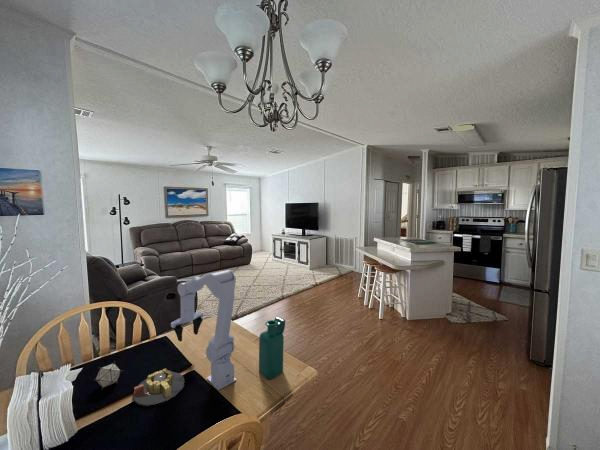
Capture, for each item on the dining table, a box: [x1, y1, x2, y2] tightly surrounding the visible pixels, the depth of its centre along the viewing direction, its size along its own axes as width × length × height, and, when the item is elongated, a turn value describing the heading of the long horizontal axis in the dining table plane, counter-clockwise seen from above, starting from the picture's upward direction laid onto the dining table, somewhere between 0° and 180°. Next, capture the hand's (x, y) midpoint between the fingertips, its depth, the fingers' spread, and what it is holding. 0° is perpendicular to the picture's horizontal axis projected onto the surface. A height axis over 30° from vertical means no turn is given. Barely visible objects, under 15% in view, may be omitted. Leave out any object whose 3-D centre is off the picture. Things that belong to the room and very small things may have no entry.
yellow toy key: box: [146, 368, 173, 398], centre depth 96 cm, size 12×9×4 cm
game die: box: [93, 360, 124, 391], centre depth 99 cm, size 9×8×10 cm
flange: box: [132, 371, 185, 407], centre depth 98 cm, size 17×17×5 cm
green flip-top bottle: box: [258, 316, 286, 380], centre depth 109 cm, size 10×8×22 cm
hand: (188, 337), depth 117 cm, fingers open, 7 cm apart
